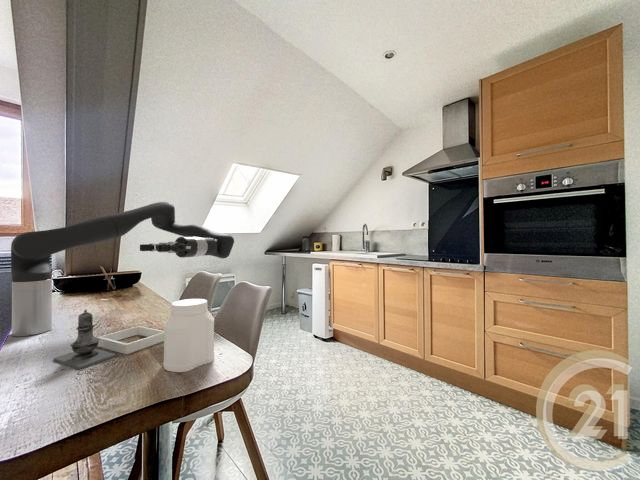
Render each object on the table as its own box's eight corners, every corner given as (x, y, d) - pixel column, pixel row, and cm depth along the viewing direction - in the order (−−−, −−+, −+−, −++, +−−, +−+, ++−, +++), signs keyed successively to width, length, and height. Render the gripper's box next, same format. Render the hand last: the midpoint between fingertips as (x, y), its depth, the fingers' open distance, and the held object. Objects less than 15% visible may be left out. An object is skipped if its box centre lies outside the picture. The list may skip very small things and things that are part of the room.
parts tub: (96, 346, 80) (96, 337, 80) (138, 333, 91) (138, 325, 91) (126, 354, 74) (126, 345, 74) (167, 339, 85) (167, 331, 85)
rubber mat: (53, 360, 70) (53, 357, 70) (90, 349, 78) (90, 346, 78) (79, 369, 65) (79, 367, 65) (116, 356, 73) (116, 354, 73)
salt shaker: (83, 361, 68) (83, 312, 68) (63, 359, 69) (63, 311, 69) (105, 352, 74) (105, 307, 74) (87, 350, 75) (87, 306, 75)
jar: (176, 376, 62) (176, 309, 62) (156, 364, 68) (156, 303, 68) (221, 358, 72) (221, 300, 72) (200, 349, 77) (200, 296, 77)
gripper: (178, 236, 106) (134, 236, 92) (205, 236, 100) (163, 236, 86) (178, 256, 106) (134, 259, 92) (205, 257, 100) (163, 260, 86)
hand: (148, 248), depth 89 cm, fingers open, 8 cm apart
